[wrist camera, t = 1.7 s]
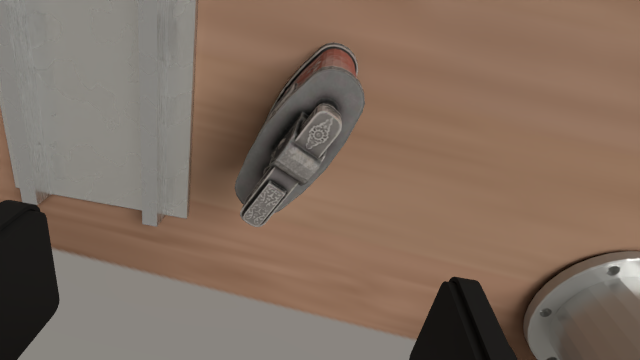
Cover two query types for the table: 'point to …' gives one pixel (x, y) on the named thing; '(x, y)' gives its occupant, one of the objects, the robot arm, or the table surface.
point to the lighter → (301, 133)
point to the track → (100, 100)
